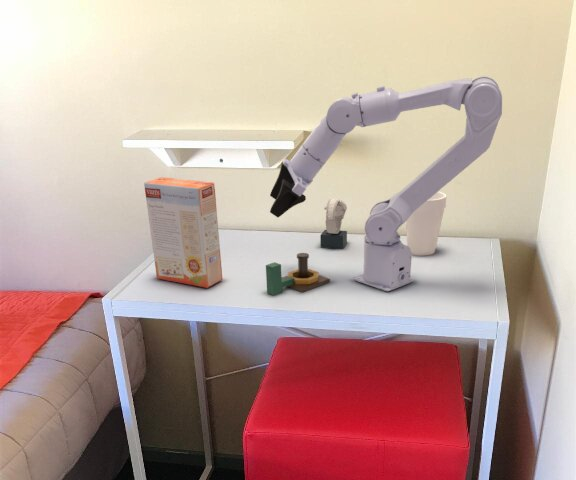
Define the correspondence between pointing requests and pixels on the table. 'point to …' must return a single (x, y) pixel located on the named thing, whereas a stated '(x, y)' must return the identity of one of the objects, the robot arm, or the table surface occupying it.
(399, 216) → the robot arm
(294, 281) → the octagonal ring with handle
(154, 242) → the cracker box
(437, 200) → the foam cup
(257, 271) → the table surface
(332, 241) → the bust statue
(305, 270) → the peg stand
